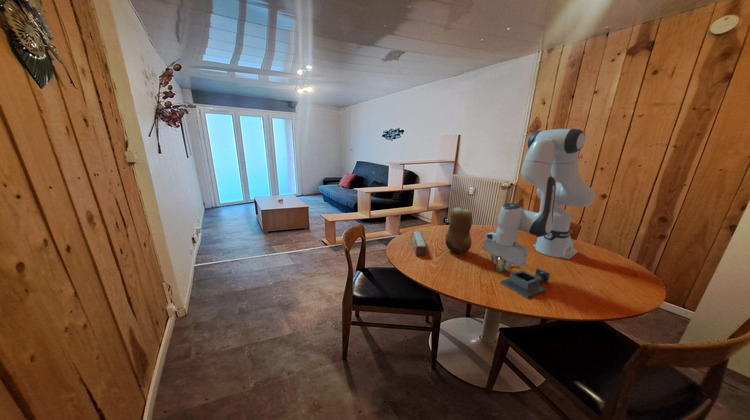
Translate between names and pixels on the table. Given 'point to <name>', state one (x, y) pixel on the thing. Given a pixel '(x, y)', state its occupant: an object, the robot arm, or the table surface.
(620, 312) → the table surface
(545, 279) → the socket fitting
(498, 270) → the brass valve
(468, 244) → the butternut squash
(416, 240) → the snack package
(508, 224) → the robot arm
